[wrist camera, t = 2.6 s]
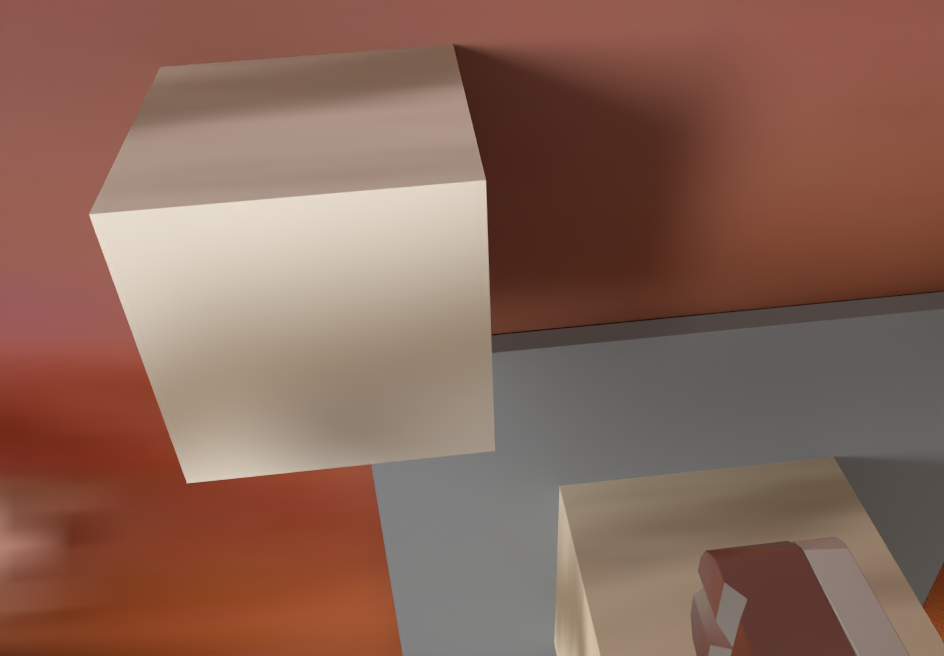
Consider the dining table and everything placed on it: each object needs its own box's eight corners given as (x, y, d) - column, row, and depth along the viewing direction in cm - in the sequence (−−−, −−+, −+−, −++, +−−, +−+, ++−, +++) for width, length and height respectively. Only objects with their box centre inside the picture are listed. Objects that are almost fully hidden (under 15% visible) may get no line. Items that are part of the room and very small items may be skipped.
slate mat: (355, 348, 19) (355, 366, 18) (1056, 280, 20) (1073, 296, 19) (415, 717, 29) (415, 735, 28) (879, 661, 30) (887, 677, 29)
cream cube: (160, 64, 15) (89, 214, 11) (452, 42, 15) (486, 180, 11) (224, 300, 18) (186, 483, 14) (465, 278, 18) (495, 450, 14)
